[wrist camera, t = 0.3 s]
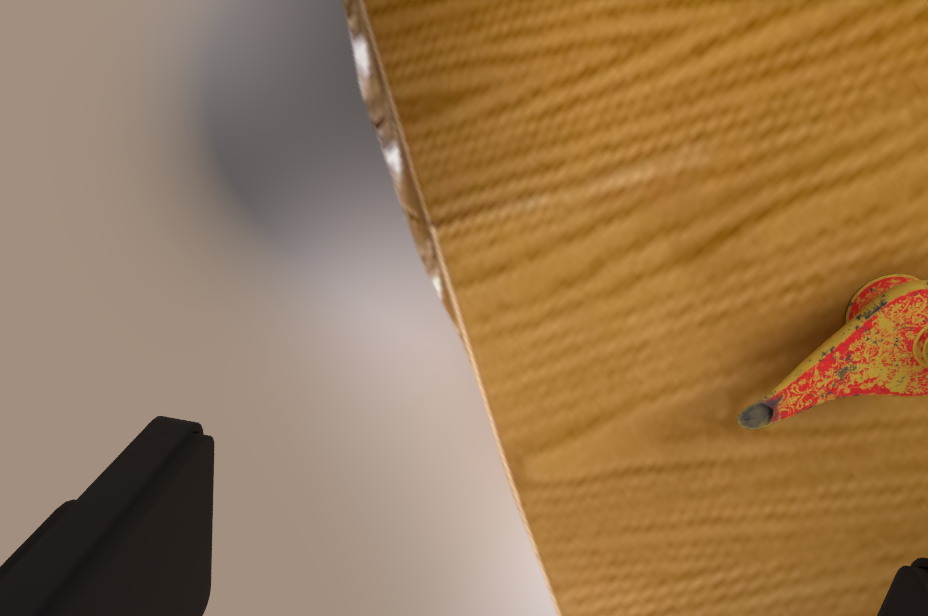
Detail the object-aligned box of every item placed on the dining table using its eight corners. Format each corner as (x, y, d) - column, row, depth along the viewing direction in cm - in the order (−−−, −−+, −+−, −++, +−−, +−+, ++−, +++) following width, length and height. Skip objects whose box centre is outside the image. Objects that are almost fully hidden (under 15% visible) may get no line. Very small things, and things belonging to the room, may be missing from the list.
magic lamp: (697, 322, 48) (736, 409, 38) (1013, 217, 44) (1153, 284, 33) (730, 414, 50) (774, 521, 40) (1034, 323, 46) (1172, 416, 35)
